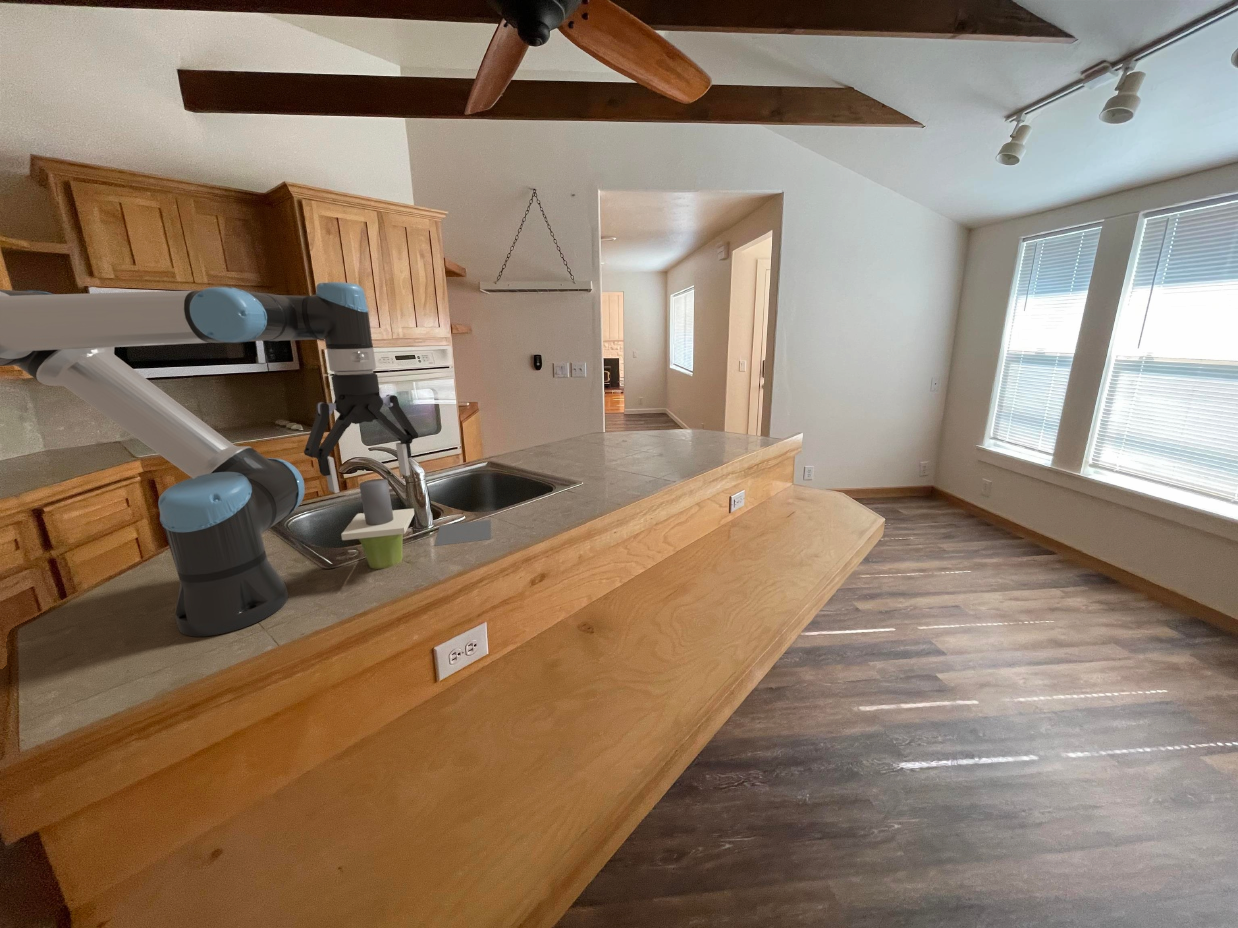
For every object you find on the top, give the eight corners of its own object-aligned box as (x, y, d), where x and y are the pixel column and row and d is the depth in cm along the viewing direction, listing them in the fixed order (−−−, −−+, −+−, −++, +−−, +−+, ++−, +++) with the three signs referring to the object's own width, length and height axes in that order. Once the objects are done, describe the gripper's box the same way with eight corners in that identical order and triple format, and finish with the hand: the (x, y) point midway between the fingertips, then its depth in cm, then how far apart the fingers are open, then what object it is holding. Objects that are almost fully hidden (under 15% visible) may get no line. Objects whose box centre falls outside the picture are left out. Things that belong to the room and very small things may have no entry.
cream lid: (404, 533, 93) (398, 488, 90) (342, 540, 90) (333, 493, 88) (414, 513, 103) (408, 472, 101) (358, 519, 101) (351, 477, 98)
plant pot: (410, 570, 96) (404, 530, 94) (358, 580, 93) (350, 538, 91) (411, 551, 105) (406, 514, 102) (363, 559, 102) (356, 521, 99)
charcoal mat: (491, 542, 109) (490, 538, 108) (435, 549, 106) (434, 545, 106) (491, 522, 120) (490, 519, 120) (440, 528, 117) (439, 525, 117)
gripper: (283, 379, 77) (307, 503, 83) (427, 368, 95) (439, 471, 101) (267, 377, 81) (292, 495, 87) (408, 367, 100) (421, 465, 106)
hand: (371, 482), depth 94 cm, fingers open, 13 cm apart
